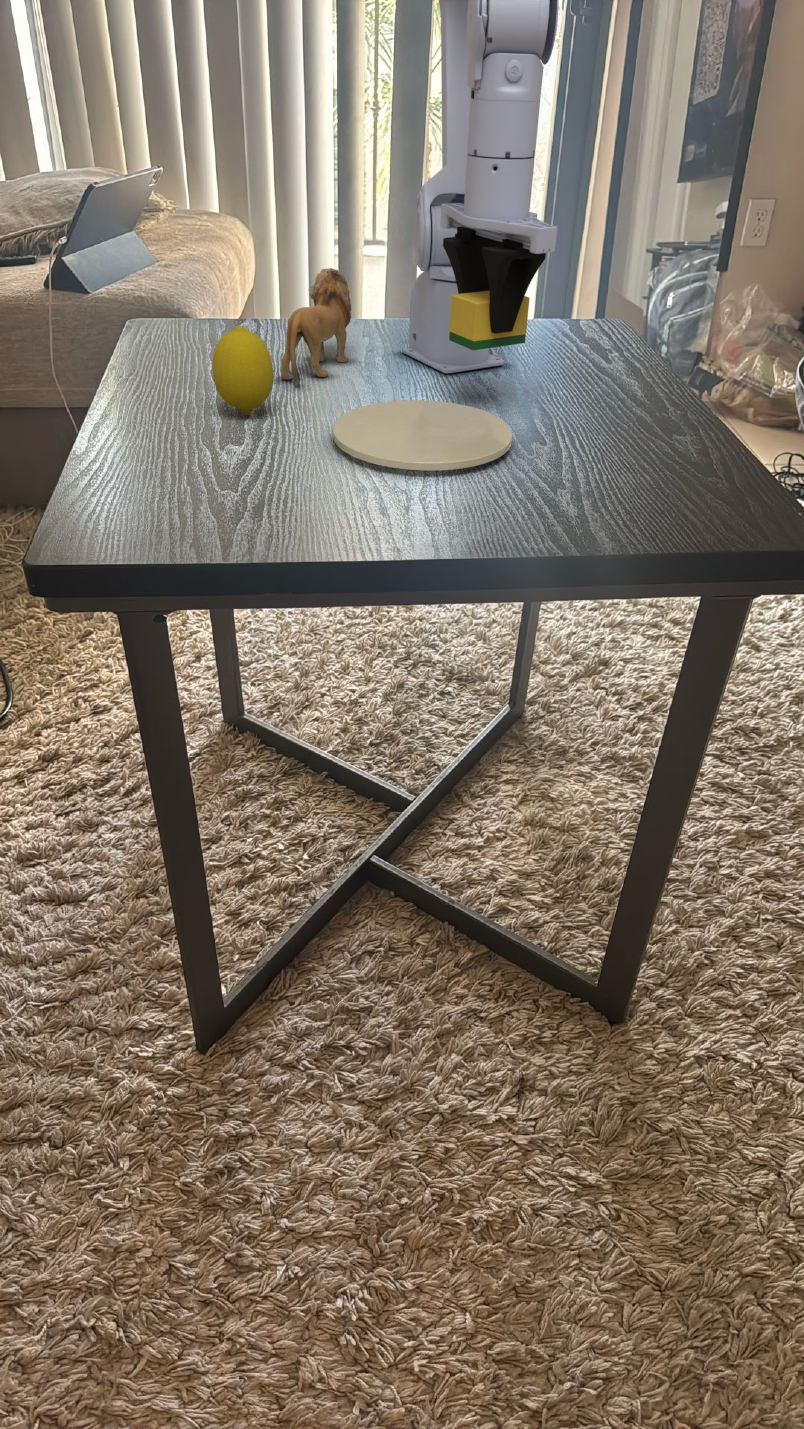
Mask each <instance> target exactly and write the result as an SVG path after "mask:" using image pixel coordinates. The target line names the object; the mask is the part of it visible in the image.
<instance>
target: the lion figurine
mask: <svg viewBox="0 0 804 1429" xmlns="http://www.w3.org/2000/svg"><path fill="white" fill-rule="evenodd" d="M314 281H315V282H314V283H313V285H312V286H310V287H309V288H308V295H309V297H310V299H312V300H313V304H314V305H313V306H312V307H310V306H305V307H299V308H297V309H296V310H294V311H293V312H292V313H291V314H290V317H289V319H288V322H287V329H286V341H285V342H286V343H285V351H284V354H283V356H282V358H281V379H282V380H291V379H292V380H293V382H294V383H296V384H298V383H300V382H301V374H300V372H299V370H298V365H297V353H296V351H297V350H296V349H297V347H298V345H299V343H300V341H301V339H302V338H303V340H304V342H305V344H306V346H307V348H308V351H309V353H310V366H311V367H312V369H313V371H314V374H315V375H316V376H318V377H320V378H325V377H328V376H329V371H328V370H327V369H325V368H322V367H321V365H320V362H323V361H325V357H326V352H325V346H324V342H327V341H329V340H330V339H332V338H333V337H335V339H336V354H335V357H336V361H337V362H338V363H347V362H349V358H348V357H347V356H346V355H345V351H346V344H347V337H348V336H347V335H348V334H347V331H346V328H347V327H348V325H349V324H350V323H351V319H352V313H351V312H352V303H351V298H350V289H349V285H348V281H347V280H346V278H345V276H344V275H343V274H342V273H340V271H339V270H338V269H335V268H332V267H329V268H322V269H321V270H320V272H318V273H317V274H316V276H315V278H314ZM290 365H291V369H292V372H291V371H290Z"/></svg>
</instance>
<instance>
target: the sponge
mask: <svg viewBox="0 0 804 1429" xmlns="http://www.w3.org/2000/svg"><path fill="white" fill-rule="evenodd" d="M530 299H531V298H530V297H529V296H526V295H525V296H524V299H523V301H522V304H521V307H520V310H519V313H518V316H517V319H516V322H515V325H514V328H513V331H512V332H505V333H498V334H495V333H492V332H491V327H490V316H489V305H490V292H489V291H481V292H472V293H463V294H454V295H451V311H450V330H449V331H450V332H449V340H450V341H452V342H455V343H457V344H459V345H462V346H464V347H466V348H469V349H471V350H480V349H487V348H489V349H494V348H500V347H507V346H513V345H514V346H515V345H521V344H525V343H526V337H527V336H526V334H527V328H528V319H529V310H530Z"/></svg>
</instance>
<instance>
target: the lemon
mask: <svg viewBox="0 0 804 1429" xmlns="http://www.w3.org/2000/svg"><path fill="white" fill-rule="evenodd" d="M212 379H213V383H214V386H215V388H216V391H217V393H218V394H219V397H221V399H222V400H223V401H224V402H225V403H226V404H227V405H229V406H230V407H232V408H235V409H237V410H238V411H239V412H240V413H241V414H242V415H244V416H247V415H250V414H251V413H252V412H253V411H254V409H256V408H258V407H260V406H261V405H263V404H264V403H265V402H266V401H267V400H268V398H269V396H270V394H271V391H272V388H273V384H274V366H273V361H272V357H271V354H270V351H269V348H268V346H267V344H266V343H265V341H264V340H263V339H262V338H261V337H260V336H259V335H257V334H256V333H255V332H253V331H251V330H248V329H246V328H245V326H244V325H236V326H235V327H234V328H233V330H230V331H227V332H226V333H224V334H223V335H222V337H220V338H219V340H218V341H217V343H216V345H215V348H214V351H213V356H212Z"/></svg>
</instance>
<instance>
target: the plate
mask: <svg viewBox="0 0 804 1429" xmlns="http://www.w3.org/2000/svg"><path fill="white" fill-rule="evenodd" d="M513 437H514V435H513V430H512V428H511V426H510V425H509V424H508V423H507V422H506V421H505V420H503V419H502V418H500V417H498V416H497V415H495V414H493V413H491V412H488V411H485V410H483V409H480V408H476V407H474V406H469V405H464V404H459V403H454V402H447V401H441V400H440V401H438V400H424V399H417V400H416V399H407V400H404V399H403V400H391V401H383V402H376V403H371V404H367V405H364V406H363V405H362V406H360V407H357V408H354V409H351V410H349V411H347V412H345V413H343V414H341V415H340V416H339V417H338V418H337V419H336V420H335V422H334V423H333V426H332V439H333V441H334V443H335V444H336V446H337V447H338V448H339V449H340V450H342V452H344V453H346V454H348V455H349V456H352V457H353V458H356V459H357V460H361V461H362V462H366V463H370V464H374V465H377V466H382V467H387V468H391V469H392V468H393V469H399V470H409V471H425V472H426V471H451V470H452V471H453V470H461V469H467V468H468V469H469V468H471V467H472V468H473V467H477V466H482V465H484V464H487V463H490V462H493V461H495V460H497V459H500V458H501V457H502V456H505V454H506V453H508V452H509V450H510V448H511V447H512V443H513Z"/></svg>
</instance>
